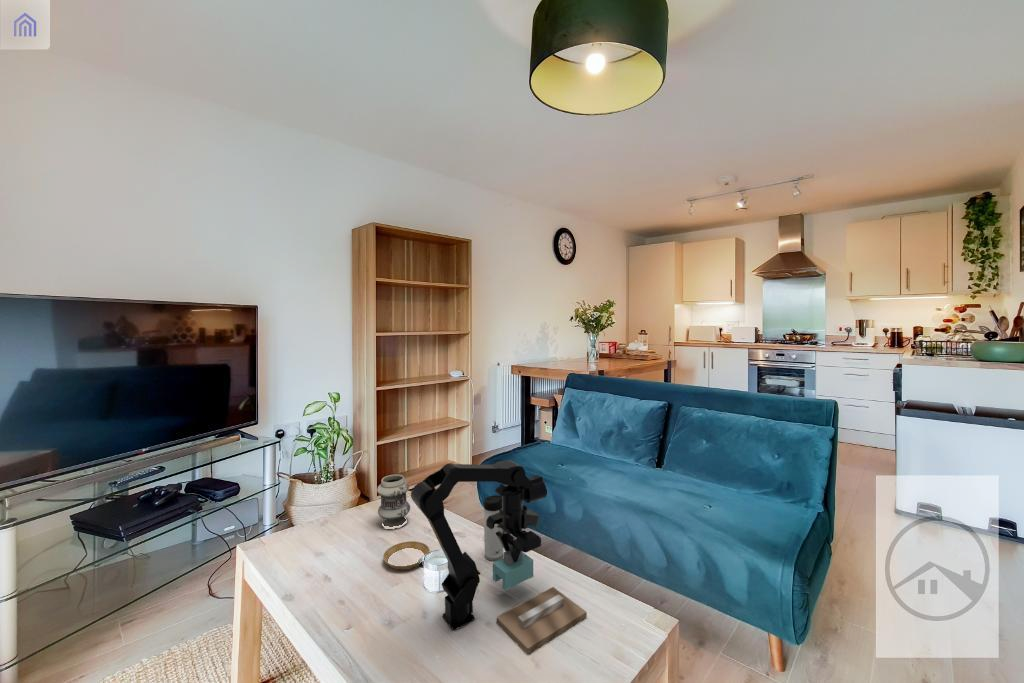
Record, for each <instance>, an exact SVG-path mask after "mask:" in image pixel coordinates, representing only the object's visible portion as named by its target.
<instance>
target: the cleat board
mask: <svg viewBox="0 0 1024 683" xmlns="http://www.w3.org/2000/svg"><path fill="white" fill-rule="evenodd" d="M587 614H588V613H587V611H586V610H585V609H584V608H582V607H581V606H579V605H578V604H576V602H574V601H572V600H571V599H570V598H569V597H567V596H566V595H564V593H562V592H561V591H560V590H558V589H557V588H555V587H554V586H552V587H550V588H548V589H547V590H545V591H543V592H541V593H539V594H537V595H535V596H534V597H532V598H529V599H528V600H526V601H524V602H522V603H520V604H518V605H516V606H515V607H512V608H511V609H509V610H507V611H505V612H504V613H502V614H500V615H497V616H496V618H495V619H496V624H497V625H498V626H499V627H500V628H501V629H502V630H503V631H504V632H505V633H506V634H507V635H508V636H509V637H510V638H511V639H512V640H513V641H514V642H515V643H516V644H517V646H519V647H520V649H522V650H523V651H524V653H525V654H526V655H529V654H531V653H532V652H534V651H536V650H537V649H539V648H541V647H542V646H543V645H545V644H547V643H548V642H550V641H551V640H553V639H555V638H556V637H559V635H561V634H563V633H564V632H566V631H567V630H569V629H571V628H572V627H574V626H575V625H577V624H578V623H580V622H581V621H583V620H585V619H587V616H588V615H587Z"/></svg>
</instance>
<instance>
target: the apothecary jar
mask: <svg viewBox="0 0 1024 683" xmlns="http://www.w3.org/2000/svg"><path fill="white" fill-rule="evenodd" d="M380 481H381V483H380V484H379V485H378V486H377V490H376V491H377V494H378V495H379V496H380V506H379V507H378V508H377V509H378V510H377V514H378V516H379V517H380V518H381V519H383V521H384V522H383V521H382V522H383V524H384V526H389V527H393V526H399V525H402V524H403V523H404V522H405V521H406V519H407V518H406V517H405V516H407V515H408V514H409V512H410V510H411V504H410V503H409V501H408V500H407V492H408V491H409V490H410V485H409V482H408V481H407V480H405V476H404V475H403V474H396V473H395V474H390V475H386V476H384V477H382V478H381V480H380ZM404 517H405V518H406V519H405V518H404ZM385 519H386V520H385Z"/></svg>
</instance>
